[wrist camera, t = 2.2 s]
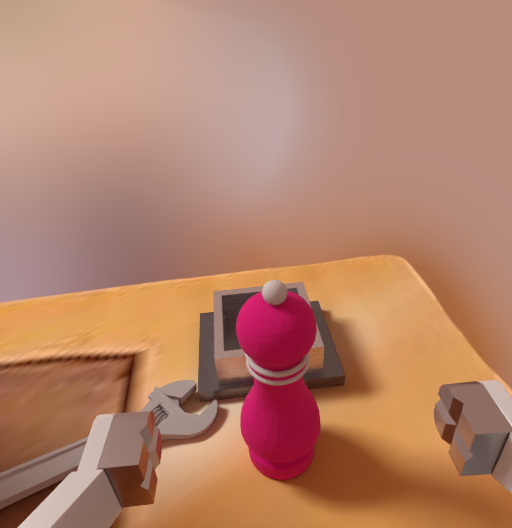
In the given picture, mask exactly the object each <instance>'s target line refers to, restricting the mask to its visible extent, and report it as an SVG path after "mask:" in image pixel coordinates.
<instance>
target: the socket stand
mask: <svg viewBox="0 0 512 528" xmlns="http://www.w3.org/2000/svg"><path fill="white" fill-rule="evenodd" d="M284 285H285V286H286V288H287V290H288V291H291V292H294V293H296V294H298V295H299V296H301V297H302V298H303V299H305V301H306V302H307V303H308V304H309V305H310V307H311V309H312V311H313V313H314V315H315V319H316V327H317V332H316V338H315V342H314V344H313V346H312V347H311V349H310V351H309V366H308V369H307V371H306V372H305V374H304V375H303V380H304V383H305V384H306V386H307V387H308V389H312V388H320V387H329V386H337V385H344V379H345V375H344V372H343V369H342V366H341V363H340V361H339V358H338V355H337V352H336V349H335V347H334V344H333V341H332V338H331V335H330V333H329V330H328V327H327V324H326V321H325V319H324V316H323V313H322V310H321V307H320V305H319V302H318V301H311V302H309V299H308V296H307V293H306V290H305V287H304V284H303V282H299V283H290V284H284ZM263 287H264V286H261V287H252V288H242V289H233V290H224V291H214V312H210V313H200V339H199V373H198V396H199V400H200V402H202V401H211V400H219V399H228V398H236V397H245V396H247V395H248V393H249V392H250V390H251V388H252V387H253V385H254V377H253V376H252V375H251V374H250V372H249V371H248V369H247V365H246V356H245V352H244V351H243V350H242V348H241V347H240V345H239V342H238V339H237V334H236V323H237V317H238V315H239V312H240V310H241V308H242V306H243V305H244V304H245V302H246V301H247V300H248V299H249V298H251V297H252V296H254V295H255V294H257V293H259V292H261V291H262V290H263Z"/></svg>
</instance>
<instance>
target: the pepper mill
mask: <svg viewBox="0 0 512 528" xmlns="http://www.w3.org/2000/svg"><path fill="white" fill-rule="evenodd" d="M316 332H317V327H316V319H315V315H314V313H313V311H312V309H311V307H310V305H309V304H308V303H307V302H306V301H305V299H303V298H302V297H301V296H299V295H298V294H296V293H294V292H291V291H288V290H287V288H286V286H285V285H284V284H283V283H282V282H280V281H278V280H271V281H269V282H267V283H266V284H265V285H264V287H263V290H262V291H261V292H259V293H257V294H255V295H254V296H252V297H251V298H249V299H248V300H247V301H246V302H245V304H244V305H243V306H242V308H241V310H240V312H239V315H238V317H237V323H236V334H237V339H238V342H239V345H240V347H241V348H242V350H243V351H244V352H245V356H246V365H247V369H248V371H249V372H250V374H251V375H252V376H253V377H254V385H253V387H252V388H251V390H250V392H249V393H248V395H247V396H246V399H245V401H244V404H243V407H242V411H241V432H242V436H243V438H244V440H245V442H246V444H247V445H248V447H249V454H250V458H251V460H252V463H253V464H254V466H255V467H256V468H257V469H258V470H259V471H260V472H261V473H262V474H264V475H266V476H267V477H270V478H273V479H279V480H286V479H291V478H294V477H296V476H298V475H300V474H301V473H303V472H304V471H305V470H306V469H307V468H308V466H309V465H310V463H311V461H312V458H313V454H314V445H315V443H316V441H317V439H318V436H319V432H320V415H319V409H318V406H317V404H316V401H315V399H314V397H313V395H312V393H311V392H310V390H309V389H308V387H307V386H306V384H305V383H304V380H303V375H304V374H305V372H306V371H307V369H308V366H309V351H310V349H311V347H312V346H313V344H314V342H315V338H316Z"/></svg>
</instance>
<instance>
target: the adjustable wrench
mask: <svg viewBox="0 0 512 528" xmlns="http://www.w3.org/2000/svg"><path fill="white" fill-rule="evenodd" d="M196 390H197V388H196V383H195V382H194V381H190V380H183V381H176V382H173V383H170V384H168V385H165V386H163V387H161V388H160V389H159V388H158V387H157V386H156V387H155V388H154V392H152V393H151V394H150V395H149V396H148V398H149V399H150V401H149V402H148V403H147V405H146V406H145V407H144V409H143V410H142V411H141V412H148V411H153V412H154V415H155V418H156V421H155V426H156V427H157V428H159V430H160V434H161V440H169V439H189V438H194V437H197V436H199V435H201V434H203V433H204V432H205V431H207V430H208V429H209V428H210V427H211V425H212V424H213V423H214V420H215V418H216V416H217V407H218V403H217V401H216V400H214V401H213V402H212V403H211V404H210V405H209V406H208V407H207V408H206V409H205V410H204V411H203V412H202V413H201V414H200V415H196V414H191V413H185V412H184V411H183V410H182V409H181V408H180V407H179V404H182V403H183V402H184V401H185V400H187V399H188V398H189V397H190V396H191V395H192V394H193V393H194V392H195V391H196ZM88 437H89V436H88ZM88 437H86V438H83V439H81V440H79V441H76V442H74V443H71V444H69V445H66V446H64V447H61V448H59V449H57V450H54V451H52V452H49V453H47V454H44V455H42V456H40V457H37V458H35V459H32V460H30V461H27V462H25V463H23V464H20V465H18V466H15V467H13V468H10V469H8V470H5V471H3V472H1V473H0V509H1V508H4V507H6V506H8V505H10V504H12V503H14V502H16V501H18V500H20V499H23V498H25V497H27V496H29V495H31V494H33V493H35V492H37V491H40V490H42V489H44V488H46V487H48V486H50V485H52V484H54V483H57V482H59V481H61V480H63V479H65V478H66V477H67V476H68V475H69V474H70V473H71V472H75V471H77V469H78V467H79V464H80V461H81V458H82V455H83V452H84V449H85V446H86V443H87V440H88Z"/></svg>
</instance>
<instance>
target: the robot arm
mask: <svg viewBox="0 0 512 528" xmlns="http://www.w3.org/2000/svg"><path fill="white" fill-rule="evenodd" d="M438 394H439V396H440V398H441V400H440V401H438V402H437V403H436V404H435V409H434V419H435V424H436V427H437V430H438V432H439V434H440V436H441V438H442V439H443V440H445V441H446V442H447V443H449V444H450V449H449V455H450V457H451V459H452V461H453V463H454V465H455V467H456V469H457V470H458V472H459V474H460V476H467V475H484V474H492V476H493V477H494V478H495V479H496V480H497V481H498V482H499V483H500V484H502V485H503V486H504V487H505V488H506V489H507V490H508V491H509V492H511V493H512V397H511V396H510V394H509V393H508V392H507V390H506V389H505V388H504V386H503V385H502V383H501V382H499V381H498V380H489V381H479V382H476V381H474V382H464V383H455V384H445V385H442V386H441V387H440V389H439V392H438ZM155 421H156V418H155V415H154V412H153V411H148V412H132V413H115V414H103V415H98V416H97V417H96V419H95V420H94V422H93V425H92V428H91V431H90V434H89V437H88V440H87V443H86V446H85V449H84V452H83V455H82V458H81V461H80V464H79V467H78V469H77V471H75V472H71V473H70V474H69V475H68V476H67V477H66V478H65V479H64V480H63V481H62V482H61V483H60V484H59V485H58V486H57V487H56V488H55V489H54V490H53V492H52V493H51V494H50V495H49V496H48V497H47V498H46V499H45V500H44V501H43V502H42V503H41V504H40V505H39V506H38V507H37V508H36V509H35V510H34V511H33V512H32V513H31V514H30V515H29V516H28V517H27V518H26V519H25V520H24V521H23V522H22V524H21V525H20V526H19V527H18V528H110V527H111V525H112V524H113V522H114V521H115V519H116V518H117V516H118V515H119V514H120V512H121V511H122V507H130V506H138V505H147V504H154V498H155V492H156V485H157V476H156V473H155V469H156V467H157V466H158V465H159V464H160V460H161V450H162V441H161V434H160V430H159V428H157V427H156V426H155Z"/></svg>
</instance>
